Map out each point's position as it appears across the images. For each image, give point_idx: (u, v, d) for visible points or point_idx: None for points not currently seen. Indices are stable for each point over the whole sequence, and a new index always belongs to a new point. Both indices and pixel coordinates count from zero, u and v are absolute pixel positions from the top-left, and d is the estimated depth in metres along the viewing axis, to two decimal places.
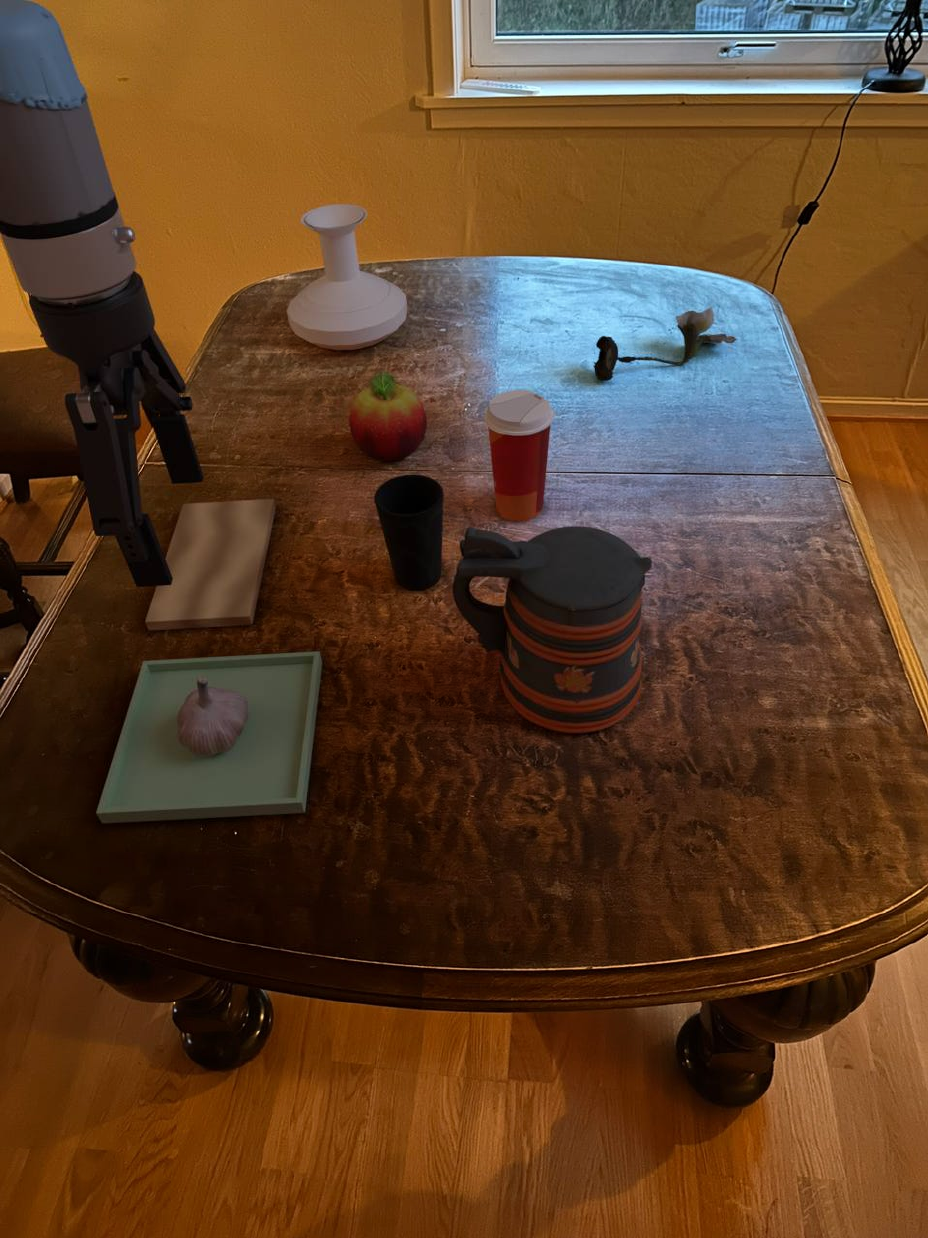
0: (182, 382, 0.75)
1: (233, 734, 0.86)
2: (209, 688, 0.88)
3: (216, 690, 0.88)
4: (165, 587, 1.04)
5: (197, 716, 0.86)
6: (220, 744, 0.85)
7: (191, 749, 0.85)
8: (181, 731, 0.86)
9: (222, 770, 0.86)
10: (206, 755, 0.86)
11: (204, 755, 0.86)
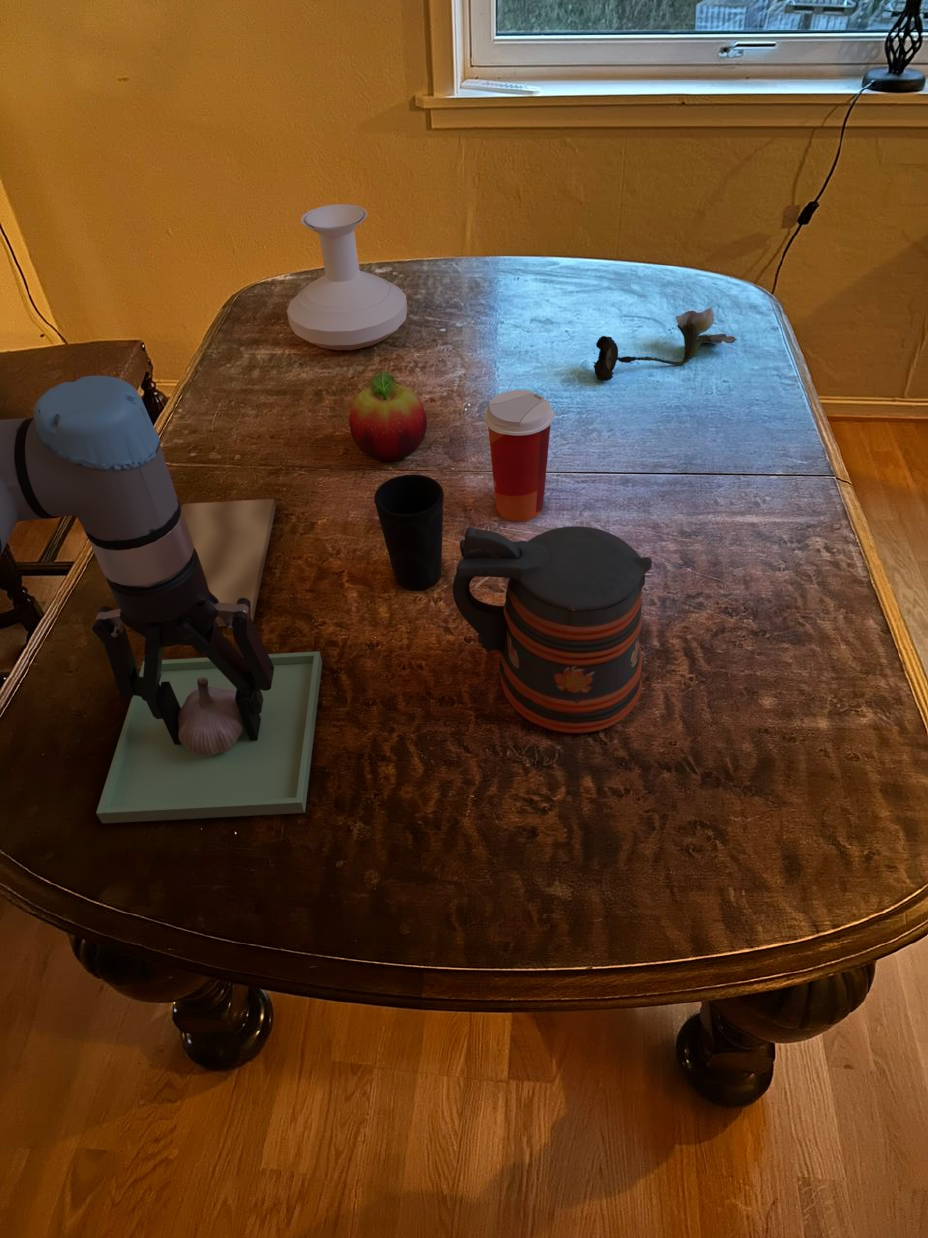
0: None
1: (234, 734, 0.86)
2: (209, 688, 0.88)
3: (216, 690, 0.88)
4: None
5: (198, 716, 0.86)
6: (220, 744, 0.85)
7: (191, 749, 0.85)
8: (181, 731, 0.86)
9: (222, 770, 0.86)
10: (206, 755, 0.86)
11: (204, 755, 0.86)
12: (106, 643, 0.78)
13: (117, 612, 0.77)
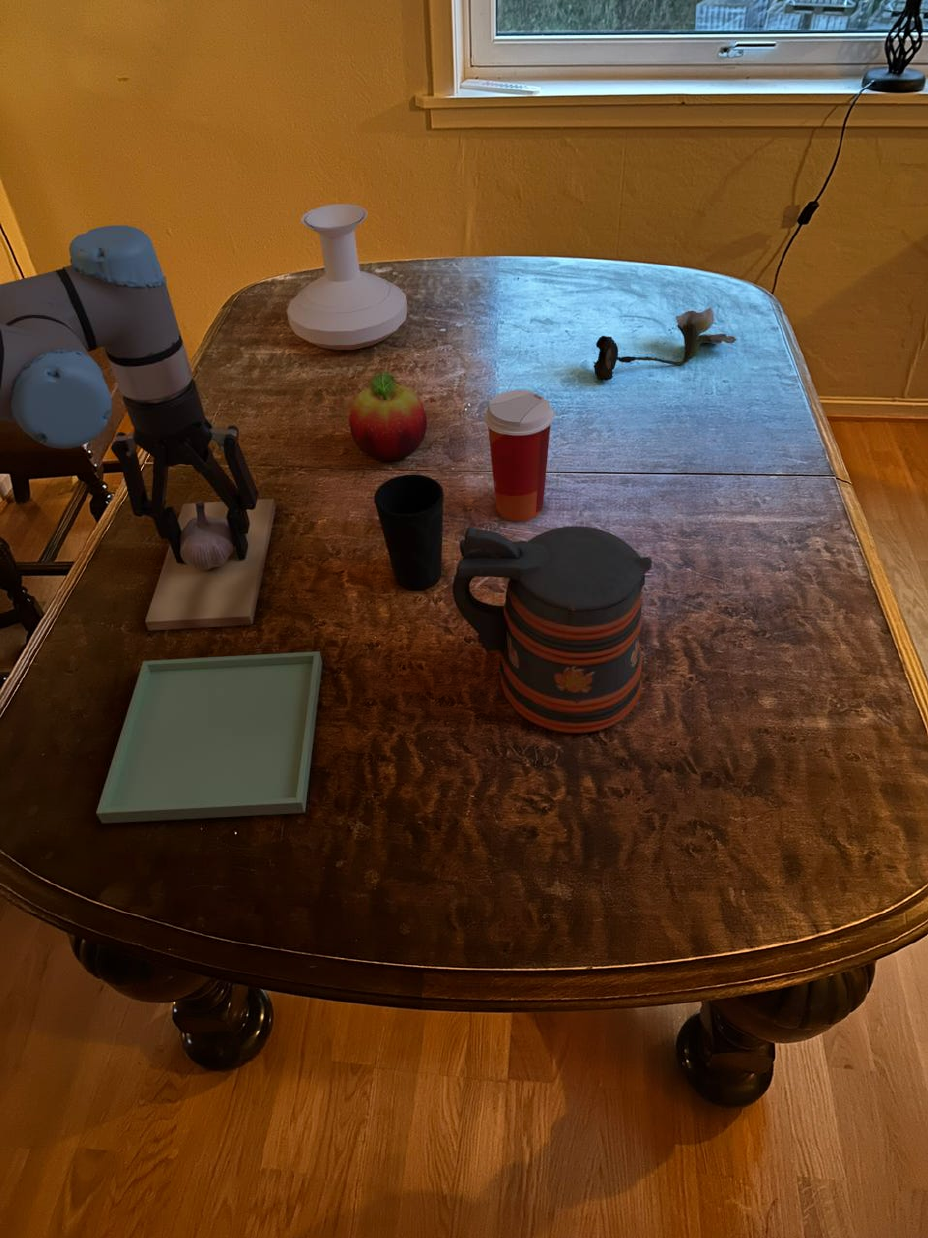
0: None
1: (226, 550, 1.05)
2: (206, 516, 1.07)
3: (211, 517, 1.07)
4: (165, 587, 1.04)
5: (196, 534, 1.04)
6: (215, 557, 1.04)
7: (191, 561, 1.04)
8: (183, 548, 1.05)
9: (222, 770, 0.86)
10: (203, 567, 1.04)
11: (202, 567, 1.04)
12: (122, 462, 0.97)
13: (130, 435, 0.96)
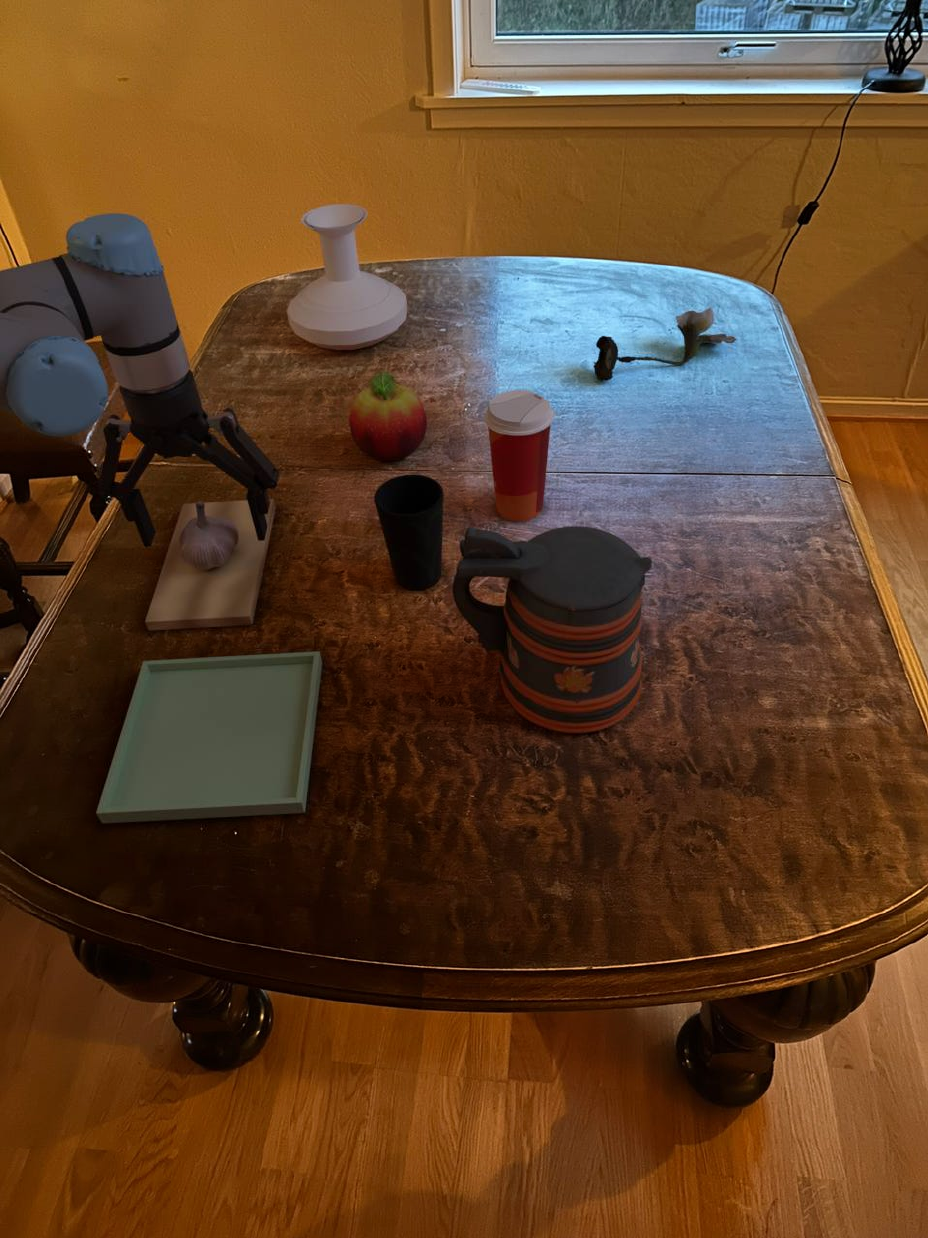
0: None
1: (226, 550, 1.05)
2: (206, 516, 1.07)
3: (212, 517, 1.07)
4: (165, 587, 1.04)
5: (196, 534, 1.04)
6: (215, 557, 1.04)
7: (191, 561, 1.04)
8: (183, 548, 1.05)
9: (222, 770, 0.86)
10: (203, 567, 1.04)
11: (202, 567, 1.04)
12: (109, 444, 0.95)
13: (127, 422, 0.95)
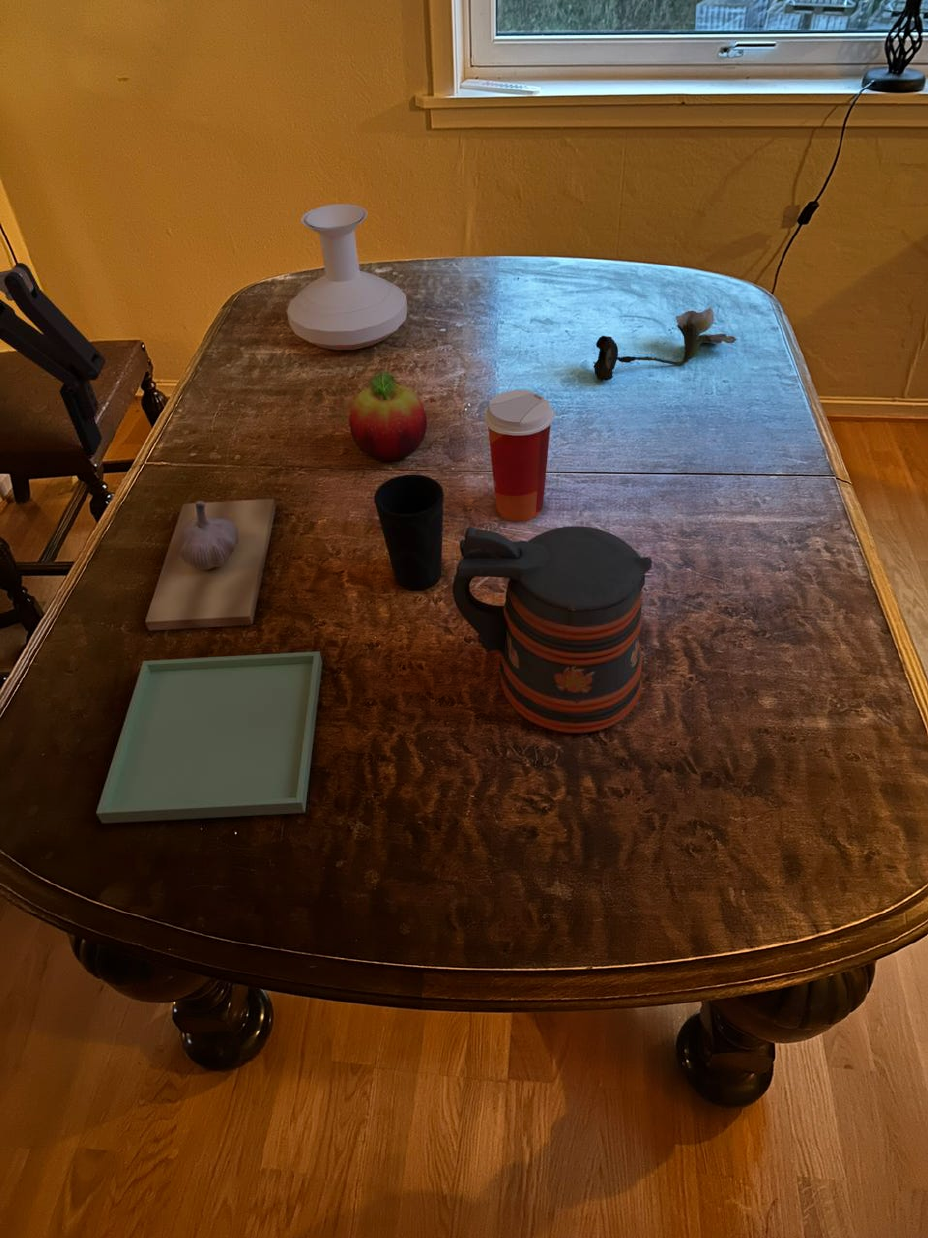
0: None
1: (226, 550, 1.05)
2: (206, 516, 1.07)
3: (212, 517, 1.07)
4: (165, 587, 1.04)
5: (196, 534, 1.04)
6: (215, 557, 1.04)
7: (191, 561, 1.04)
8: (183, 548, 1.05)
9: (222, 770, 0.86)
10: (203, 567, 1.04)
11: (202, 567, 1.04)
12: None
13: None
